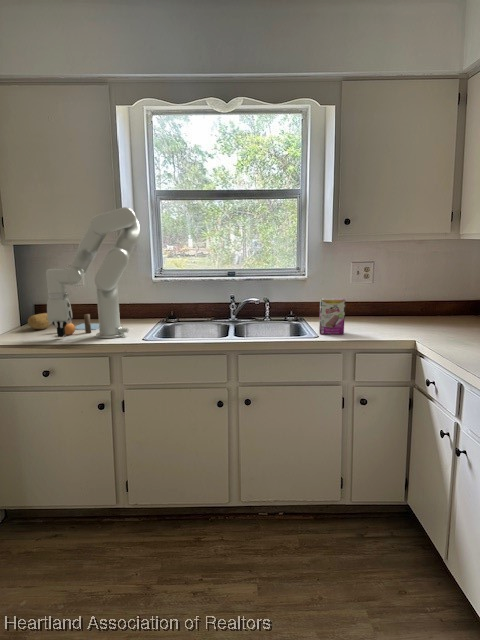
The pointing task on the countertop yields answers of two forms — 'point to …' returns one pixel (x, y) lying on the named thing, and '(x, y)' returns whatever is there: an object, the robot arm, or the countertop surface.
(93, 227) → the robot arm
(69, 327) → the ball
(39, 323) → the potato
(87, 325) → the right post
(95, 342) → the countertop surface
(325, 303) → the candy bar box
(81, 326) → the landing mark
